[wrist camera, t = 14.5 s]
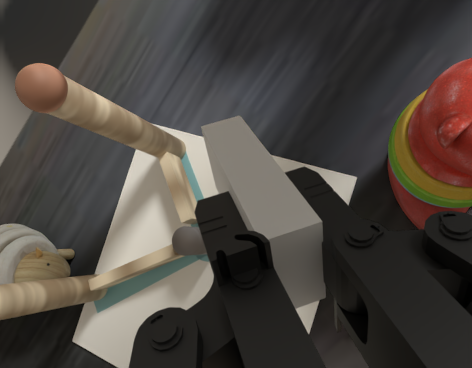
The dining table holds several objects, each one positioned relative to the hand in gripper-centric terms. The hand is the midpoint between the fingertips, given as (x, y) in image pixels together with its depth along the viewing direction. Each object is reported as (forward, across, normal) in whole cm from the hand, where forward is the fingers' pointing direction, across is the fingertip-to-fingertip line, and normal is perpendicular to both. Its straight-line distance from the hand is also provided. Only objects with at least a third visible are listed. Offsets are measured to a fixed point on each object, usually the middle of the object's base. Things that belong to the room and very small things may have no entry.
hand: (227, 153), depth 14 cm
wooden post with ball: (+24, -1, -17) cm, 29 cm away
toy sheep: (+29, -22, -25) cm, 44 cm away
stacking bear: (+12, +22, -15) cm, 29 cm away
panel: (+21, -10, -23) cm, 33 cm away
